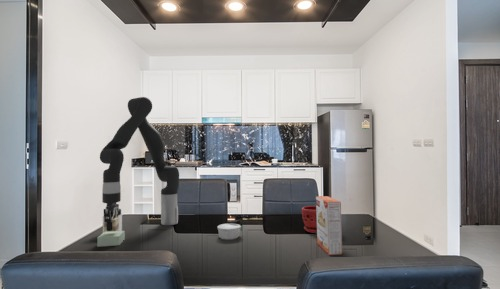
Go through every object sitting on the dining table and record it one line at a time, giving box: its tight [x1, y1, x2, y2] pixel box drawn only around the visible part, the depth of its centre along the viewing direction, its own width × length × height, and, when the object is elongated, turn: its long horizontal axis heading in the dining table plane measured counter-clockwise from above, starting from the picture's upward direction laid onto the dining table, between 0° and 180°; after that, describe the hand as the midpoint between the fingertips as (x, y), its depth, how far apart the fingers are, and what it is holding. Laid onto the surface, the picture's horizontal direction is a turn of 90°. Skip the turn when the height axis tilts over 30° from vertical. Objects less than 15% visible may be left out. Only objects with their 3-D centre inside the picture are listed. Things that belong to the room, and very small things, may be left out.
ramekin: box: [216, 222, 242, 241], centre depth 136 cm, size 11×11×5 cm
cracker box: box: [315, 195, 343, 256], centre depth 117 cm, size 14×6×21 cm, turn 5°
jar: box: [102, 208, 123, 234], centre depth 145 cm, size 9×8×12 cm
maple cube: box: [104, 218, 119, 232], centre depth 129 cm, size 5×5×5 cm
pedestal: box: [96, 230, 126, 248], centre depth 129 cm, size 9×9×4 cm
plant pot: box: [301, 205, 317, 234], centre depth 144 cm, size 13×13×12 cm
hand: (111, 228), depth 129 cm, fingers closed on maple cube, 5 cm apart
